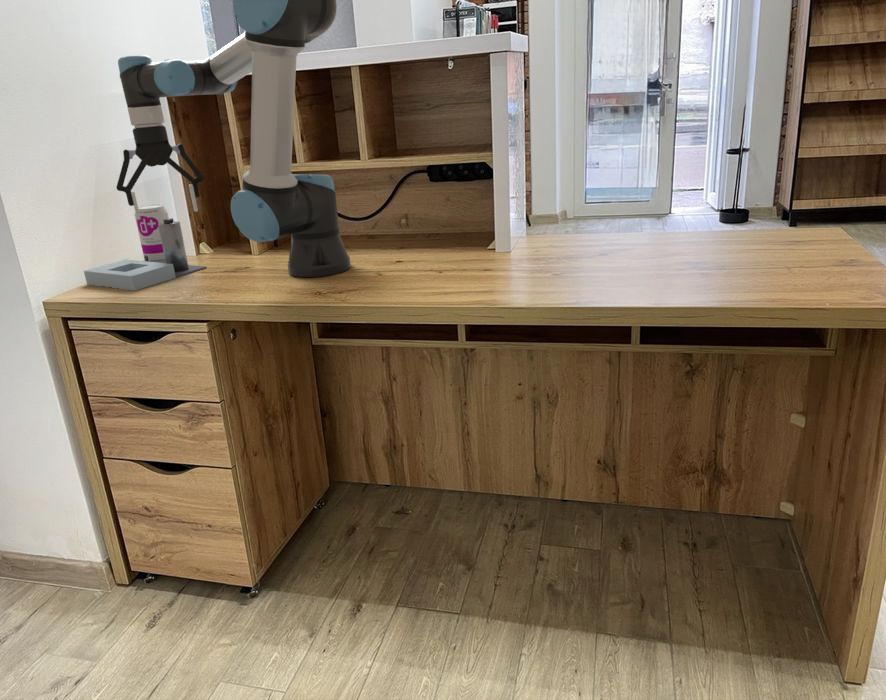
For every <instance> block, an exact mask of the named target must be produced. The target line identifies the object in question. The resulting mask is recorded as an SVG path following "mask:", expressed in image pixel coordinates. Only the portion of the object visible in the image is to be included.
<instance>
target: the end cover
mask: <svg viewBox="0 0 886 700" xmlns="http://www.w3.org/2000/svg"><path fill="white" fill-rule="evenodd" d="M168 218H169V219H164V220H163V222H164V223H160V224H158V227H159V232H160V237H161V242H162V247H163V251H164V256H165V261H166V263H167V264H173V267H174V272H181V271H185V270H188V269H189V267H188V265H189V263H188V258H187V253H186V252H187V251H186V246H185V241H184V237H183V232H182V227H181V226H182V225H181V222H180V221H178V220H174V218H172V217H171V218H170V217H168Z"/></svg>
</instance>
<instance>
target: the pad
mask: <svg viewBox="0 0 886 700" xmlns="http://www.w3.org/2000/svg"><path fill="white" fill-rule="evenodd" d="M188 267H189V269H188V270H185V271H181V272H175V277H176V278H180V277H182V276H186V275H188V274H192V273H195V272H198V271H202V270H204V269H205V270H206V269H207V266H206V265H205V266H203V265H195V264H194V265H193V264H188ZM176 278H175V279H176Z"/></svg>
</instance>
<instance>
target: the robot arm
mask: <svg viewBox="0 0 886 700" xmlns="http://www.w3.org/2000/svg"><path fill="white" fill-rule="evenodd" d="M231 7H232V9H231V10H232V13H233V16H234V17H236V20H235V21H236V23H237V25H238V26H239V27H240V28H241V29H242V30H243V31H244V32H243V33H242V34H241V35H239V36H237V37H236V38H235V39H234V40H231V41H230V42H229V43H228V44H226V45H225V46H223V47H222V48H220V49H219V50H218V51H216V52H215V53H213V54H212V55H210V56H209V57H207V58H206V59H203V60H181V59H165V60H162V61H157V62H153V60H152V58H151V57H150V56H149V55H143V54H142V55H140V54H139V55H129V56H128V55H127V56H122V57H119V58H118V60H117V65H118V70H119V79H120V82H121V86H122V90H123V94H124V98H125V99H124V100H125V102H126V105H127V106H126V107H127V111H128V113H127V114H128V116H129V121H130V125H131V126H132V127H134V128H132V134H133V138H134V139H133V140H134V143H135V149H123V151H122V153H123V161H122V165H121V170H120V173H119V175H118V176H119V177H118V180H117V184H116V190H117V191H119V192H123V193H125V195H126V198H127V204H128V205H129V207H134V210H135V212H136V216H137V220H138V219H141V218H140V214H139V209H138V207H139V206H138V201H137V197H136V192H135V191H134V190H133V188H134V186H135V184H136V183H137V181H138V179H139V178H140V176H141V175H142V173H143V172H144V170H145V168H146V167H152V168H153V167H156V166H165V165H166V164H168V165H170V166H171V167H172V168H173V169H174V170H175V171H176V172H178V173H179V174H180V175H182V176H183V177H184V179H187V180H188V182H190V183H191V184H188V188H189V189H188V190H189V193H190V194H189V195H190V198H191V203H192V207H193V211H194V212H195V213H196V212H199V209H198V203H197V199H196V198H199V197H200V191H199V186H198V185H199V183H200V182H203V181H205V177H204V175H202V173H201V172H200V170H199V169H198V168H197V166H196V165H195V164H194V163H193V161H192V160H191V158H190V157H189V155H188V154H187V153H186V150H185V147H184V145H183V144H181V143H178V144H177V145H172V146H171V144H170V143H169V142H170V141H169V138H168V132H167V128H166V126H165V125H163V124H164V123H165V118H164V113H163V108H162V103H161V98H169V97H186V96H187V97H188V96H204V95H223V94H228V93H229V94H230V93H231V92H233V91H234V90H235V89H236V85H237V84H238V81H239V80H241V79H243V78H244V77H245V76H247V75H250V74H251V104H250V105H251V107H250V109H251V111H250V112H251V114H250V154H249V155H250V159H249V161H250V163H249V167H250V168H249V169H248V170H247V171H246V172H244V174H243V175H242V189H241V190H238V191H237V192H235V193H234V195H233V196H232V197H231V200H230V213H231V217H232V220H233V222H234V224H235V226H236V227H237V228H238V230H239V232H241V234H242V235H243V236H244V237H245V238H247V239H248V240H250V241H252V242H255V243H263V242H273V241H276V240H277V239H280V238H284V237H287V236H290V238H291V240H290V241H291V243H290V249H289V256H288V261H287V270H288V274H289V275H290V276H293V277H298V278H316V277H317V278H318V277H319V278H320V277H325V276H326V277H327V276H332V275H336V274H337V275H338V274H340V273H343V272H345V271H348V270H349V269H351V266H352V265H351V259H350V255H349V254H348V252H347V249H346V248H345V245H344V242H343V240H342V237H341V233H340V224H339V216H338V215H339V214H338V213H339V212H338V206H337V205H338V204H337V197H336V193H337V192H336V189H335V184H334V183H335V182H334V180H333V177H332V176H331V175H329V174H325V173H323V174H316V173H315V174H314V173H313V174H311V173H309V174H307V173H301V174H300V173H297V174H295V173H294V174H293V173H292V163H293V162H292V161H293V160H292V158H293V137H294V118H295V117H294V116H295V100H296V99H295V97H296V96H295V95H296V94H295V93H296V76H297V75H296V73H297V72H296V71H297V57H298V54H300V53H301V52H302V51H303V50H304V49H305V47H306V44H309V43H310V42H312V41H314V40H315V39H317V38H319V37H320V36H322V35H323V34H324V33H326V32H327V31H328V30H329V29H330V27H331V26H332V25H333V23H334V21H335V18H336V16H337V0H231ZM173 151H174V152H175V153H176V154H177V155H179V156H180V157H181V159H183V161H184V162H185V163H186V165H187V166H188V168H189V169H190V170H191V171H192V173H193V174H194V175H195V176H196V177H193V176H192V175H191V174H189V173H188V172H187V171H186V170H185V169H184V168H182V167H181V166H180V165H179V164H178V163H177V162H175V161H174V160H173V159H172V158H171V156H172V153H173ZM134 156H137V158H139V159H140V162H139V164H138V166H137V168H136V169H135V171H134V172H133V174H132V176H131V178H130V179H129V181H128V183H127V185H125V186H124V184H125V180H126V176H127V172H128V169H129V165H130V160H132V159H133V158H134ZM132 190H133V191H132Z"/></svg>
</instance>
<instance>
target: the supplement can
mask: <svg viewBox="0 0 886 700" xmlns="http://www.w3.org/2000/svg"><path fill="white" fill-rule="evenodd" d="M138 209H139V214H140V218H141V219H138V220H137V216H136V212H135V213H134V218H135V223H136V227H137V231H138V236H139V241H140V246H141V250H142V254H143V255H142V256H143V259H144V261H146V262H157V263H166V261H165V256H164V251H163V247H162V242H161V237H160V232H159V227H158V224H160V223H164V222H163V220H164V219H169V218H170V217H169V214H168V213H169V212H168V210H167V209H166V207H165V206H164V204H150V205H142V206H138Z"/></svg>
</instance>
